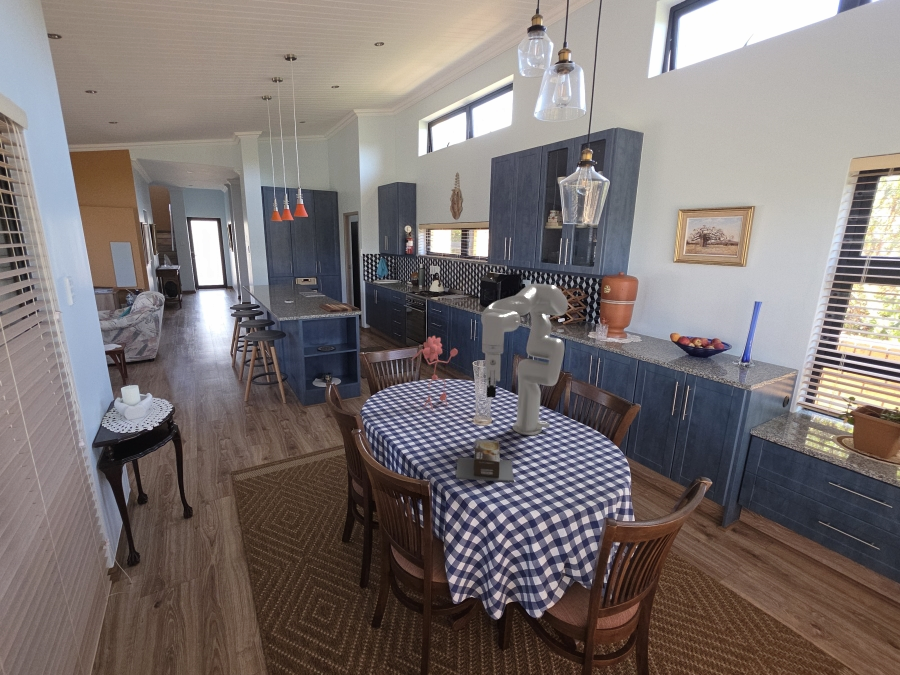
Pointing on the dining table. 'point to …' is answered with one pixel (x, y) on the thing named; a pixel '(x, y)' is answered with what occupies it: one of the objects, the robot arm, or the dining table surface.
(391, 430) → the dining table surface
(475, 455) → the coffee box
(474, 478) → the mat
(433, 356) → the pink stick figure toy
